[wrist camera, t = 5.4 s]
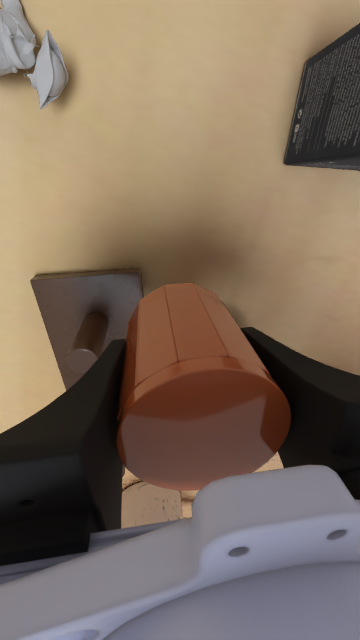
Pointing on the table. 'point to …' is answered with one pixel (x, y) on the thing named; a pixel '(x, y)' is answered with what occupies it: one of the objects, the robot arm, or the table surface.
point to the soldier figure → (30, 54)
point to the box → (329, 108)
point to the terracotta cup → (194, 393)
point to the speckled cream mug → (149, 505)
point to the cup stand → (86, 314)
